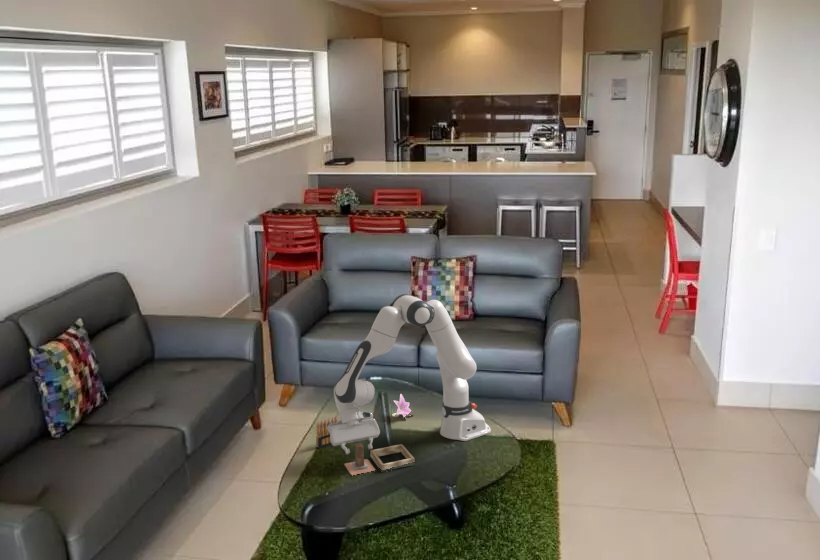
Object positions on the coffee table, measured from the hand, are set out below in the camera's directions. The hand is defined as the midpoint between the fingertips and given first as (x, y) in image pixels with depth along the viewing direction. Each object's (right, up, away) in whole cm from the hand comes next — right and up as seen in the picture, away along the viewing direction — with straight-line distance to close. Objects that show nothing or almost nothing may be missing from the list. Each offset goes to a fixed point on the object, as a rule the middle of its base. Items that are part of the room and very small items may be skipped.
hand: (359, 451), depth 298 cm
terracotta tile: (0, -7, +2) cm, 7 cm away
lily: (+17, +5, +48) cm, 51 cm away
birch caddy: (+13, -6, +7) cm, 16 cm away
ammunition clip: (-15, -3, +22) cm, 27 cm away
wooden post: (0, -7, +2) cm, 7 cm away
